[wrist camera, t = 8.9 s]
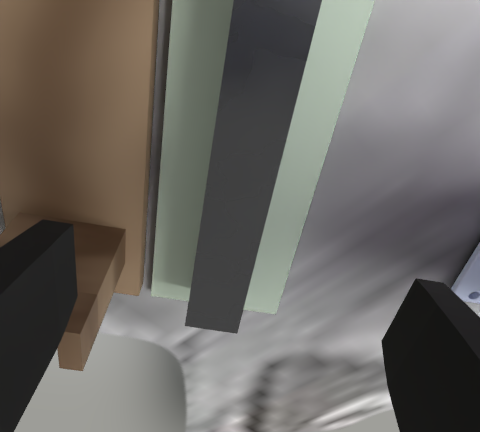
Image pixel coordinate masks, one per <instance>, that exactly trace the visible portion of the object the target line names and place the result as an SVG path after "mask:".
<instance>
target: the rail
mask: <svg viewBox="0 0 480 432" xmlns="http://www.w3.org/2000/svg"><path fill="white" fill-rule="evenodd" d="M321 3H322V0H234V2H233V8H232V15H231V22H230V29H229V35H228V42H227V49H226V55H225V62H224V69H223V75H222V82H221V89H220V96H219V102H218V109H217V116H216V122H215V129H214V136H213V142H212V149H211V156H210V163H209V169H208V176H207V183H206V189H205V196H204V203H203V209H202V216H201V223H200V230H199V236H198V243H197V250H196V256H195V263H194V270H193V276H192V283H191V290H190V297H189V303H188V310H187V317H186V323H185V326H189V327H196V328H203V329H210V330H217V331H223V332H230V333H237V332H238V328H239V324H240V320H241V316H242V312H243V309H244V305H245V301H246V297H247V293H248V289H249V285H250V281H251V277H252V273H253V269H254V265H255V262H256V258H257V254H258V250H259V246H260V242H261V238H262V234H263V230H264V226H265V222H266V218H267V215H268V211H269V207H270V203H271V199H272V195H273V191H274V187H275V183H276V179H277V175H278V171H279V167H280V164H281V160H282V156H283V152H284V148H285V144H286V140H287V136H288V132H289V128H290V124H291V120H292V117H293V113H294V109H295V105H296V101H297V97H298V93H299V89H300V85H301V81H302V77H303V73H304V69H305V66H306V62H307V58H308V54H309V50H310V46H311V42H312V38H313V34H314V30H315V26H316V22H317V19H318V15H319V11H320V7H321Z"/></svg>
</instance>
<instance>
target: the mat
mask: <svg viewBox="0 0 480 432" xmlns="http://www.w3.org/2000/svg"><path fill="white" fill-rule="evenodd" d="M233 2H234V0H172V14H171V28H170V41H169V55H168V69H167V82H166V96H165V110H164V123H163V137H162V151H161V164H160V178H159V191H158V205H157V219H156V232H155V246H154V260H153V273H152V287H151V296H155V297H161V298H168V299H175V300H182V301H188V302H189V297H190V290H191V283H192V276H193V270H194V263H195V256H196V250H197V243H198V236H199V230H200V223H201V216H202V209H203V203H204V196H205V189H206V183H207V176H208V169H209V163H210V156H211V149H212V142H213V136H214V129H215V122H216V116H217V109H218V102H219V96H220V89H221V82H222V75H223V69H224V62H225V55H226V49H227V42H228V35H229V29H230V22H231V15H232V8H233ZM374 2H375V0H322V3H321V7H320V11H319V15H318V19H317V22H316V26H315V30H314V34H313V38H312V42H311V46H310V50H309V54H308V58H307V62H306V66H305V69H304V73H303V77H302V81H301V85H300V89H299V93H298V97H297V101H296V105H295V109H294V113H293V117H292V120H291V124H290V128H289V132H288V136H287V140H286V144H285V148H284V152H283V156H282V160H281V164H280V167H279V171H278V175H277V179H276V183H275V187H274V191H273V195H272V199H271V203H270V207H269V211H268V215H267V218H266V222H265V226H264V230H263V234H262V238H261V242H260V246H259V250H258V254H257V258H256V262H255V265H254V269H253V273H252V277H251V281H250V285H249V289H248V293H247V297H246V301H245V305H244V309H243V310H249V311H255V312H262V313H269V314H276V312H277V309H278V306H279V303H280V300H281V297H282V293H283V290H284V287H285V284H286V281H287V278H288V274H289V271H290V268H291V265H292V262H293V259H294V255H295V252H296V249H297V246H298V243H299V239H300V236H301V233H302V230H303V227H304V224H305V220H306V217H307V214H308V211H309V208H310V205H311V201H312V198H313V195H314V192H315V189H316V186H317V182H318V179H319V176H320V173H321V170H322V167H323V163H324V160H325V157H326V154H327V151H328V148H329V144H330V141H331V138H332V135H333V132H334V129H335V125H336V122H337V119H338V116H339V113H340V110H341V106H342V103H343V100H344V97H345V94H346V91H347V87H348V84H349V81H350V78H351V75H352V72H353V68H354V65H355V62H356V59H357V56H358V53H359V49H360V46H361V43H362V40H363V37H364V34H365V30H366V27H367V24H368V21H369V18H370V15H371V11H372V8H373V5H374Z"/></svg>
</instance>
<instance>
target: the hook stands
mask: <svg viewBox="0 0 480 432" xmlns="http://www.w3.org/2000/svg"><path fill="white" fill-rule="evenodd" d="M158 17H159V0H0V199H1V204H2V210H3V216H4V222H5V227H6V229H5V230H4V231H3V232H2V233H1V235H0V247H2V246H3V245H5V244H6V243H8V242H9V241H11V240H12V239H14V238H15V237H17V236H18V235H20V234H21V233H23V232H24V231H26V230H27V229H29V228H30V227H32V226H33V225H35V224H36V223H38V222H39V221H41V220H43V219H44V220H50V221H57V222H63V223H69V224H73V228H74V244H75V260H76V276H77V292H78V297H77V299H76V302H75V305H74V308H73V310H72V313H71V316H70V319H69V321H68V324H67V327H66V329H65V332H64V334H63V337H62V340H61V342H60V344H59V346H58V357H59V366H60V368H63V369H71V370H79V371H83V369H84V366H85V364H86V361H87V359H88V356H89V354H90V351H91V349H92V346H93V343H94V341H95V338H96V336H97V333H98V331H99V328H100V326H101V323H102V321H103V318H104V316H105V313H106V311H107V308H108V305H109V303H110V300H111V298H112V295H113V293H114V292H115V293H122V294H129V295H135V296H139V293H140V290H141V287H142V284H143V277H144V260H145V242H146V225H147V208H148V190H149V173H150V155H151V138H152V121H153V103H154V86H155V69H156V51H157V34H158Z"/></svg>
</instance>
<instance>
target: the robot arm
mask: <svg viewBox="0 0 480 432" xmlns="http://www.w3.org/2000/svg"><path fill="white" fill-rule="evenodd" d="M472 292H474V293H472ZM470 293H471V294H470ZM77 297H78V292H77V276H76V260H75V244H74V228H73V224H69V223H63V222H57V221H50V220H44V219H43V220H41V221H39V222H38V223H36V224H35V225H33V226H32V227H30V228H29V229H27V230H26V231H24V232H23V233H21V234H20V235H18V236H17V237H15V238H14V239H12V240H11V241H9V242H8V243H6V244H5V245H3V246H2V247H0V432H14V430H15V428H16V426H17V424H18V422H19V420H20V418H21V417H22V415H23V413H24V411H25V409H26V407H27V405H28V403H29V402H30V400H31V398H32V396H33V394H34V392H35V390H36V388H37V386H38V384H39V382H40V381H41V379H42V377H43V375H44V373H45V371H46V369H47V367H48V365H49V363H50V361H51V359H52V357H53V355H54V354H55V351H56V350H57V348H58V346H59V344H60V342H61V340H62V337H63V334H64V332H65V329H66V327H67V324H68V321H69V319H70V316H71V313H72V310H73V308H74V305H75V302H76V299H77ZM463 301H466V302H472V303H478V304H480V243H479V244H478V246H477V247H476V249H475V251H474V252H473V254H472V255H471V257H470V259H469V260H468V262H467V264H466V265H465V267H464V268H463V270H462V272H461V273H460V275H459V276H458V278H457V280H456V281H455V283H454V284H453V286H452V288H451V289H450V288H449V287H447V286H446V285H445V284H444V283H441V282H435V281H428V280H422V279H415V281H414V283H413V285H412V286H411V288H410V290H409V292H408V294H407V296H406V297H405V299H404V301H403V303H402V305H401V307H400V308H399V310H398V312H397V314H396V316H395V318H394V319H393V321H392V323H391V325H390V327H389V328H388V330H387V332H386V334H385V336H384V338H383V339H382V349H383V357H384V365H385V372H386V378H387V385H388V389H389V393H390V397H391V401H392V405H393V408H394V412H395V416H396V419H397V423H398V427H399V430H400V432H480V317H479V316H478V315H477V314H476V313H475V312H474V311H473V310H472V309H471V308H470V307H469V306H468V305H466V304H465V303H464V302H463Z"/></svg>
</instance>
